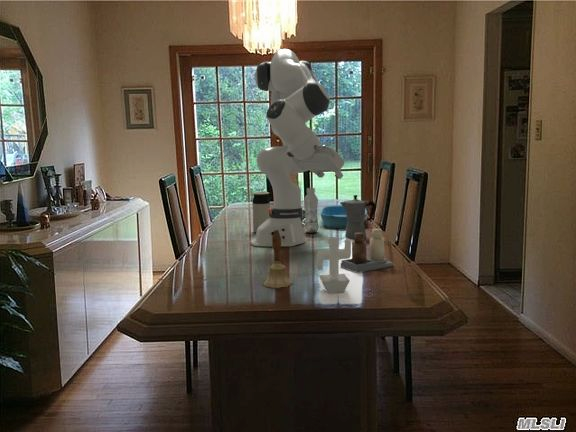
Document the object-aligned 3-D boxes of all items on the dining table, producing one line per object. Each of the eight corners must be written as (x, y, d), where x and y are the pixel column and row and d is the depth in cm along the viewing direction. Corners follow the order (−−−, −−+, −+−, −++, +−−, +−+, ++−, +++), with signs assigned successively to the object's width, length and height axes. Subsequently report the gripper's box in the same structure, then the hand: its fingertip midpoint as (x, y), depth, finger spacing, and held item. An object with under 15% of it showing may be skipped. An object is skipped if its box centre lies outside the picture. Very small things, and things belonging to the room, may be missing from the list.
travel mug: (268, 232, 234) (267, 193, 231) (251, 232, 235) (250, 193, 233) (272, 229, 242) (271, 191, 239) (255, 229, 243) (254, 191, 240)
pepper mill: (353, 265, 164) (353, 234, 163) (350, 262, 169) (350, 232, 167) (368, 265, 165) (367, 234, 163) (364, 262, 169) (364, 231, 168)
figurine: (315, 287, 145) (314, 235, 143) (348, 286, 146) (347, 234, 144) (319, 295, 138) (318, 240, 136) (354, 293, 139) (353, 238, 137)
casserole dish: (367, 230, 237) (367, 214, 236) (319, 230, 240) (319, 215, 239) (365, 218, 273) (365, 204, 272) (323, 218, 276) (323, 205, 275)
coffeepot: (337, 238, 217) (337, 195, 215) (343, 234, 226) (343, 193, 223) (373, 240, 211) (373, 196, 209) (378, 236, 220) (378, 194, 218)
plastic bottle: (320, 231, 234) (319, 187, 231) (316, 234, 228) (315, 189, 225) (306, 231, 236) (306, 187, 233) (302, 233, 230) (301, 188, 227)
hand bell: (295, 286, 147) (294, 231, 145) (267, 289, 145) (265, 233, 142) (287, 279, 155) (286, 227, 153) (260, 282, 153) (258, 229, 150)
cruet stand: (357, 272, 161) (357, 235, 159) (340, 266, 169) (340, 231, 167) (393, 266, 168) (393, 230, 166) (375, 260, 176) (375, 226, 174)
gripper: (333, 138, 151) (358, 170, 157) (293, 139, 168) (317, 168, 174) (321, 153, 149) (347, 185, 156) (282, 153, 166) (307, 182, 172)
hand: (331, 176), depth 165 cm, fingers open, 8 cm apart
